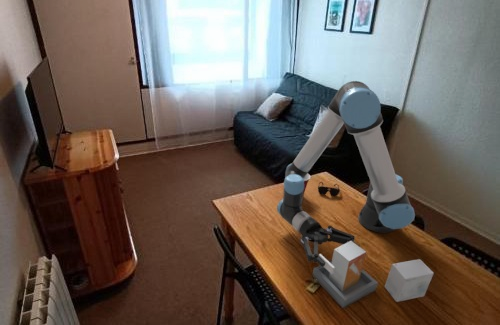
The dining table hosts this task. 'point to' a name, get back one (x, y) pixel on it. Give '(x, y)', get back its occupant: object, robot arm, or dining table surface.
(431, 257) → the dining table surface
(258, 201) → the dining table surface
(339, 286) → the small box
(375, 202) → the robot arm
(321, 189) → the sunglasses
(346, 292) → the tray
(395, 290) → the skincare box
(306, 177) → the plastic cup
